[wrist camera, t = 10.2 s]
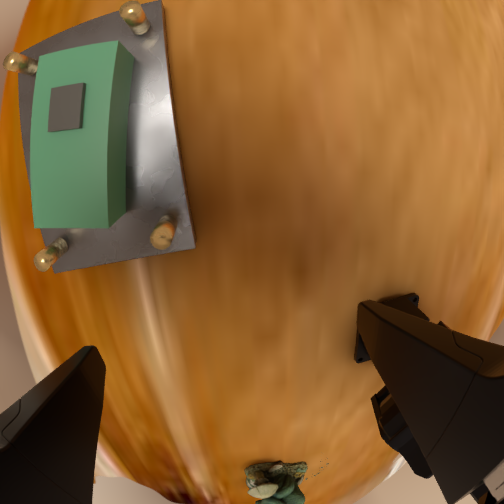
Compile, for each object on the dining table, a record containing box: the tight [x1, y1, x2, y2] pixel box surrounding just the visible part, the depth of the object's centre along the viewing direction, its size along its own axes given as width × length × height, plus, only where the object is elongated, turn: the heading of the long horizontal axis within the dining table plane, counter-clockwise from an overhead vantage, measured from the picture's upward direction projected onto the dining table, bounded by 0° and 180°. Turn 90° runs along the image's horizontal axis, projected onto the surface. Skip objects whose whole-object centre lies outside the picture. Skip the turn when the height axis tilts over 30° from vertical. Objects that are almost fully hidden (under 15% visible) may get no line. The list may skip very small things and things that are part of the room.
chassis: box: [3, 0, 196, 273], centre depth 14 cm, size 17×11×4 cm, turn 7°
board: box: [30, 40, 134, 228], centre depth 13 cm, size 10×5×4 cm, turn 175°
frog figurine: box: [245, 458, 329, 504], centre depth 29 cm, size 18×18×12 cm
